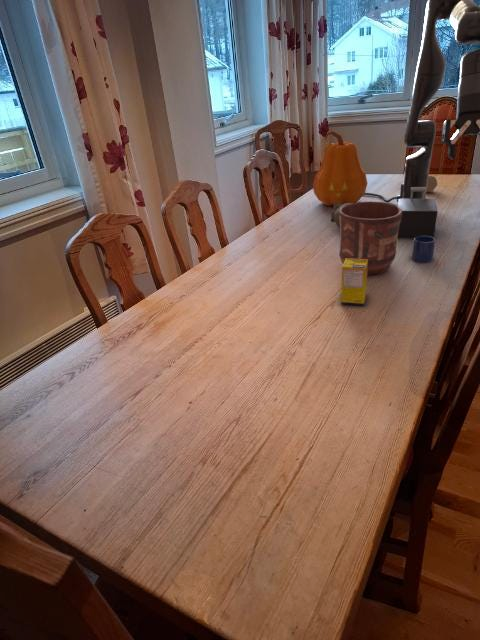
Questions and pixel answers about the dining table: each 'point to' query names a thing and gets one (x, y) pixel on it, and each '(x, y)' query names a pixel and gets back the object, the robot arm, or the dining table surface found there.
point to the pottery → (369, 233)
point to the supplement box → (354, 281)
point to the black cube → (417, 225)
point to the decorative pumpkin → (340, 174)
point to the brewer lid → (418, 203)
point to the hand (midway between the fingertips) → (468, 158)
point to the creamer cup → (423, 249)
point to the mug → (431, 183)
